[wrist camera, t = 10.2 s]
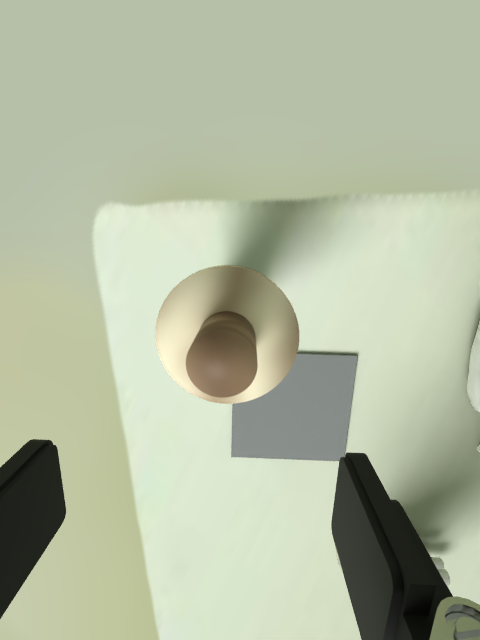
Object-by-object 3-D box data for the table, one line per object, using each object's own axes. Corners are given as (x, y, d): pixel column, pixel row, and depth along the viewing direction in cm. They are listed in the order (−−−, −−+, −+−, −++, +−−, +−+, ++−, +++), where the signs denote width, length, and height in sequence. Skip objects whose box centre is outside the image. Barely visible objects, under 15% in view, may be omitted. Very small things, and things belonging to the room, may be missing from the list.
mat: (356, 355, 41) (357, 356, 41) (342, 459, 45) (343, 461, 45) (233, 350, 41) (233, 351, 41) (231, 454, 45) (231, 456, 45)
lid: (301, 266, 23) (319, 276, 18) (293, 399, 26) (305, 445, 21) (155, 263, 24) (125, 273, 18) (162, 395, 27) (138, 440, 21)
